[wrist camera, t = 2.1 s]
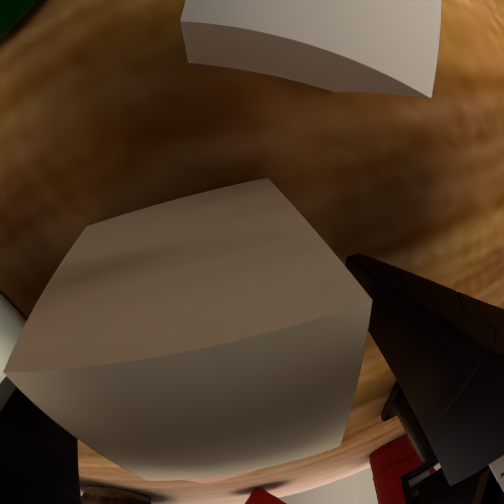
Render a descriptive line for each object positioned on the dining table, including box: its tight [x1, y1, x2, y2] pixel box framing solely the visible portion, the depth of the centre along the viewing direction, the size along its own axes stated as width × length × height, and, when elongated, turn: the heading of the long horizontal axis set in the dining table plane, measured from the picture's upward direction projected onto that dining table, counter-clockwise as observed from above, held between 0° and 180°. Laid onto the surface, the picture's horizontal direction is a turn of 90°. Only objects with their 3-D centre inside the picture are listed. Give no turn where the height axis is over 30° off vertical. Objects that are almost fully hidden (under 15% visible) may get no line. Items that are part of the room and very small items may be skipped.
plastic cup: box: [369, 436, 436, 504], centre depth 23 cm, size 11×11×12 cm
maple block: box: [3, 178, 372, 481], centre depth 7 cm, size 6×6×6 cm
